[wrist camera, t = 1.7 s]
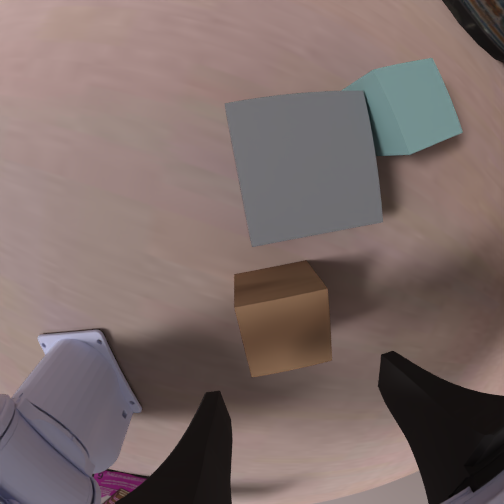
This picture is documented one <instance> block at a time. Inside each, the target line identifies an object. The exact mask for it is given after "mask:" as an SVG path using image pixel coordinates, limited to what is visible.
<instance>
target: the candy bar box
mask: <svg viewBox="0 0 504 504" xmlns="http://www.w3.org/2000/svg"><path fill="white" fill-rule="evenodd" d="M92 477H93V478H94V479H95V480H96V481H97V483H98V485H99V487H100V490H101V504H115V502H116V501H118V500H119V499H121V498H122V497H124V496H125V495H127V494H128V493H130V492H131V491H133V490H134V489H135V488H137V487H138V486H139V485H140V484H142V483H143V482H144V481H145V480H146V479H147V478H149V477H143V476H137V475H131V474H126V473H120V472H116V471H111V470H105V471H103V472H100V473H95V474H92Z"/></svg>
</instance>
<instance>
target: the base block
mask: <svg viewBox="0 0 504 504" xmlns="http://www.w3.org/2000/svg"><path fill="white" fill-rule="evenodd" d="M225 109H226V115H227V121H228V126H229V131H230V136H231V142H232V147H233V152H234V157H235V162H236V168H237V173H238V178H239V183H240V188H241V194H242V199H243V204H244V209H245V215H246V220H247V225H248V230H249V235H250V240H251V244H252V247H255V246H260V245H265V244H270V243H276V242H281V241H286V240H291V239H296V238H302V237H307V236H312V235H317V234H323V233H328V232H333V231H339V230H344V229H349V228H354V227H360V226H365V225H370V224H376V223H381V222H383V217H382V205H381V194H380V185H379V177H378V169H377V162H376V155H375V148H374V142H373V136H372V131H371V125H370V120H369V115H368V110H367V106H366V101H365V97H364V92H363V91H324V92H308V93H296V94H286V95H277V96H269V97H261V98H255V99H248V100H242V101H236V102H230V103H225Z"/></svg>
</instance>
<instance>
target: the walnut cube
mask: <svg viewBox="0 0 504 504" xmlns="http://www.w3.org/2000/svg"><path fill="white" fill-rule="evenodd" d="M234 308H235V312H236V316H237V320H238V324H239V329H240V333H241V337H242V341H243V345H244V349H245V353H246V357H247V361H248V365H249V369H250V372H251V376H252V377H258V376H264V375H269V374H274V373H279V372H284V371H289V370H294V369H298V368H303V367H307V366H312V365H316V364H320V363H324V362H328V361H332V349H331V329H330V313H329V299H328V288H327V287H326V286H325V284H324V283H323V282H322V280H321V279H320V278H319V276H318V275H317V274H316V272H315V271H314V270H313V269H312V267H311V266H310V265H309V263H308V262H307V261H306V260H305V261H300V262H295V263H290V264H285V265H280V266H275V267H270V268H265V269H260V270H255V271H250V272H244V273H239V274H234Z"/></svg>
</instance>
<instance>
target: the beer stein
mask: <svg viewBox="0 0 504 504" xmlns="http://www.w3.org/2000/svg"><path fill="white" fill-rule="evenodd" d="M442 1H443V2H444V3H445V5H446V6H447V7H448V9H449V10H450V11H451V13H452V14H453V16H454V17H455V18H456V20H457V21H458V23H459V24H460V25H461V26H462V27H463V28H464V29H465V30H466V31H467V33H468V34H469V35H470V36H471V37H472V38H473V39H474V40H475V42H476V43H477V44H478V45H479V46H481V47H482V48H483V49H484V50H485V51H486V52H488V53H489V54H490V55H491V56H492V57H493V58H494V59H496V60H499V61H502V62H504V0H442Z"/></svg>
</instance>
